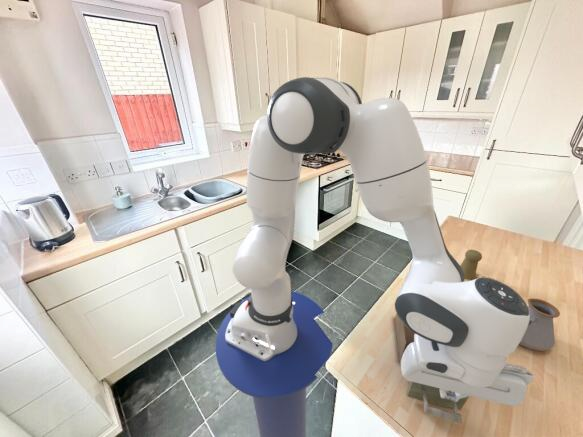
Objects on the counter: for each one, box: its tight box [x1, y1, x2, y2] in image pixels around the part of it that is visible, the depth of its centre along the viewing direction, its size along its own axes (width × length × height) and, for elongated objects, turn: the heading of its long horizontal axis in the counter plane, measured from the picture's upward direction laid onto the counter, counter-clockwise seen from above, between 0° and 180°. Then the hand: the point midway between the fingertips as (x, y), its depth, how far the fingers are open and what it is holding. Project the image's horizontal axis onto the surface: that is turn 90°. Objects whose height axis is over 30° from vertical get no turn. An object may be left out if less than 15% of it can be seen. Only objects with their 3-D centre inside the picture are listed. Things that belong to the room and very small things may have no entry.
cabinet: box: [394, 313, 415, 363], centre depth 69 cm, size 15×13×9 cm
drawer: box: [406, 381, 470, 424], centre depth 59 cm, size 18×11×7 cm, turn 164°
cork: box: [460, 249, 483, 280], centre depth 94 cm, size 6×6×11 cm
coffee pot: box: [519, 297, 561, 352], centre depth 67 cm, size 21×12×15 cm, turn 119°
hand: (447, 396), depth 51 cm, fingers closed
